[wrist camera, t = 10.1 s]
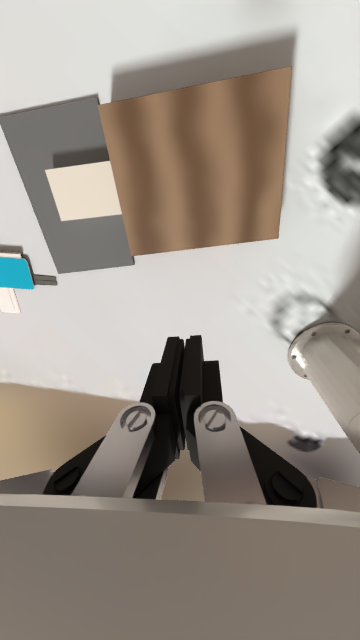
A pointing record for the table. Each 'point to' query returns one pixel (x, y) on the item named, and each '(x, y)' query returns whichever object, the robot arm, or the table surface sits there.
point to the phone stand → (17, 279)
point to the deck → (200, 162)
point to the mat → (57, 152)
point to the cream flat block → (84, 191)
